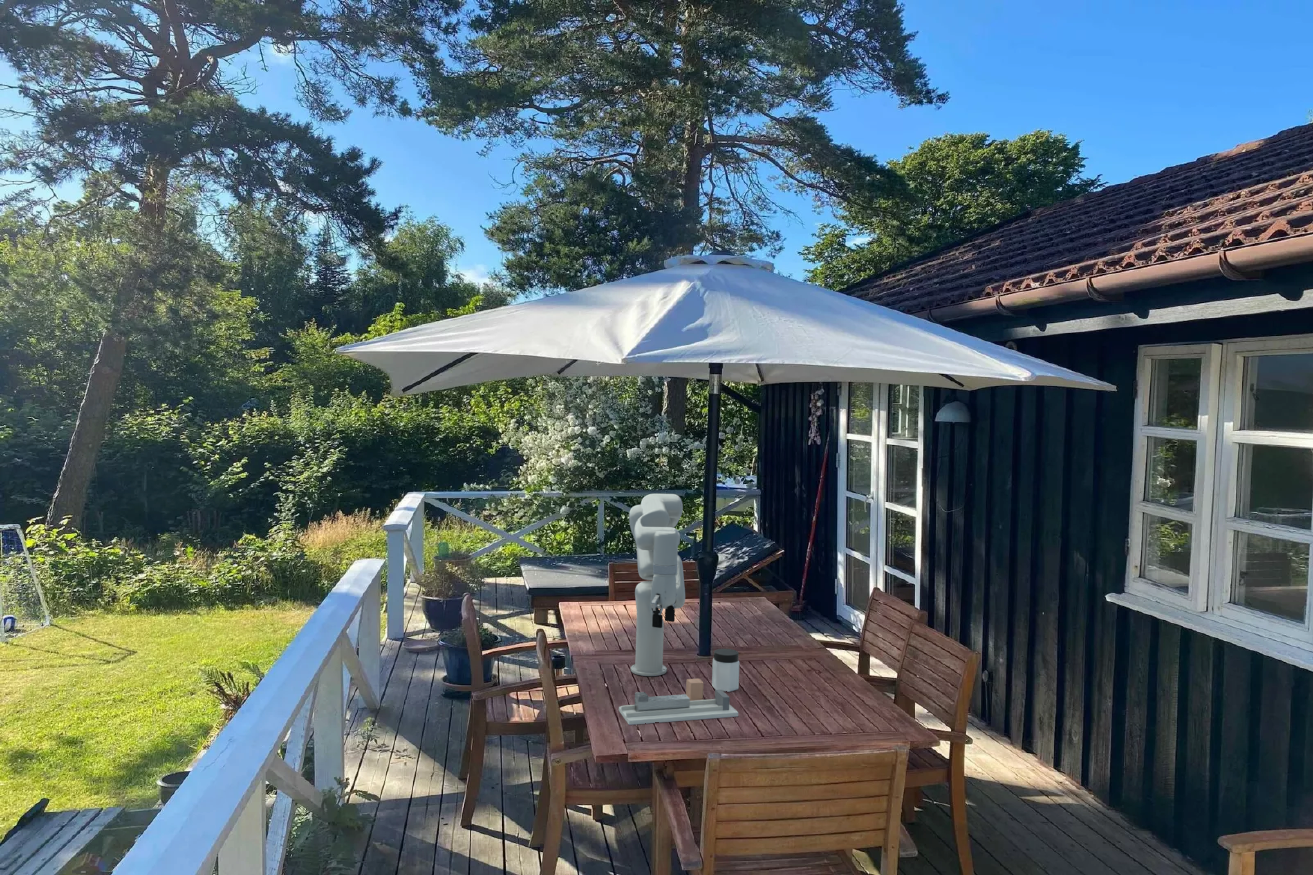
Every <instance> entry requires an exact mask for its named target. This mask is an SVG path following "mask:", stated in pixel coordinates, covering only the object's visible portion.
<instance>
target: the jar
mask: <svg viewBox="0 0 1313 875" xmlns="http://www.w3.org/2000/svg"><path fill="white" fill-rule="evenodd" d="M739 653H740V652H739V651H737V650H735V649H732V648H718V649H715V650H714V651H713V658H712V669H711V670H712V671H711V674H712V675H711V676H712V677H711V685H712V688H714V690H722V691H723V692H726V691H727V692H728V693H729V692H733V691H737V690H739V685H740V684H739V682H740V680H739V679H740V661H739Z"/></svg>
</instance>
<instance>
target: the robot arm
mask: <svg viewBox="0 0 1313 875" xmlns="http://www.w3.org/2000/svg"><path fill="white" fill-rule="evenodd" d="M683 508H684V506H683V501H682V498H681V497H680V496H679V495H678V494H675V493H650V494H647V495H645V496H644V497H643V498H642V499H641V503H640V504H636V505H634V506H632V507H631V509H630V510H629V513H628V517H629V518H628V520H629V527H630V530H631V534H632V535H633V539H634V541H635V545H636V559H637V571H638V575H639V577H640V578H641V579H642V580H645V581H641V582H639V583H638V584H636V586H635V590H634V596H635V606H636V607H635V608H636V629H635V630H636V631H635V632H636V633H635V636H636V637H635V658H634V661H635V664H632V665H631V666H630V672H631V673H632V674H635V675H636V676H637V675H638V676H643V677H658V676H661V675H662V676H663V675H664V674H667V671H668V670H667V669H668V668H667V667H666V665H664V664H663V660H664V659H663V657H664V634H665V633H664V629H665V625H664V624H665V623H664V622H671V623H674V622H675V621H676V618H675V616H676V609H681V608H682V607H683V606H684V605H685V602H686V588H685V579H684V575H685V574H684V566H683V561H682V558H681V556H680V555H679V554H678V552H679V551H678V550H679V546H680V543H681V534H680V532H679V530H678V529H677V528H675V527H676V526H677V525H678V522H679V521H680V519H681V516H682V515H683V511H684V510H683ZM663 610H664V616H663ZM663 617H664V619H663Z"/></svg>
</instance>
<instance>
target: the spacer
mask: <svg viewBox="0 0 1313 875" xmlns="http://www.w3.org/2000/svg"><path fill="white" fill-rule="evenodd" d="M685 682H686V683H685V684H686V686H685V690H686V691H685V694H686V695H687V696H688V697H689V698H690V701H694V700H704V682H703V680H702V679H701V678H687V679H686V681H685Z"/></svg>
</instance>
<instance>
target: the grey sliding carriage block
mask: <svg viewBox="0 0 1313 875" xmlns="http://www.w3.org/2000/svg"><path fill="white" fill-rule="evenodd" d="M634 705H635V711H636V712H641V711H655V710H668V709H682V708H689V707H690V698H689V697H688V696H687V695H686V693H683V694H670V695H657V696H656V695H654V696H649V695H648V694H647V693H646V692H645V691H637V692H634Z"/></svg>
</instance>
